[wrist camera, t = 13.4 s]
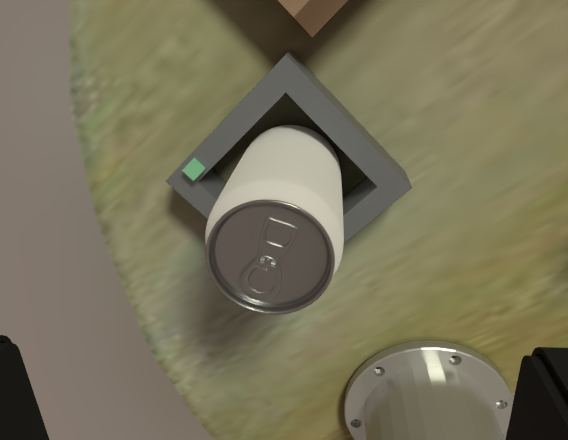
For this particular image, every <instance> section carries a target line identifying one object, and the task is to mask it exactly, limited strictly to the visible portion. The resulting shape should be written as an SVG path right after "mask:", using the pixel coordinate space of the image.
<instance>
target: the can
mask: <svg viewBox="0 0 568 440" xmlns="http://www.w3.org/2000/svg"><path fill="white" fill-rule="evenodd" d="M205 244H206V264H207V268H208V271H209V274H210V276H211V278H212V280H213V282H214V283H215V285H216V286H217V288H218V289H219V290H220V291H221V292H222V293H223V294H224V295H225V296H226V297H227V298H228V299H229V300H231V301H232V302H234V303H235V304H237V305H239V306H240V307H242V308H245V309H247V310H250V311H253V312H256V313H261V314H269V315H279V314H287V313H292V312H295V311H298V310H300V309H303V308H305V307H307V306H308V305H310V304H312V303H313V302H314V301H316V300H317V299H318V298H319V297H320V296H321V295H322V294H323V292H324V291H325V290H326V288H327V287H328V285H329V283H330V281H331V279H332V277H333V276H334V274H335V272H336V271H337V269H338V266H339V264H340V261H341V258H342V253H343V245H344V226H343V202H342V182H341V169H340V163H339V160H338V157H337V155H336V152H335V151H334V149H333V147H332V146H331V145H330V143H329V142H328V141H327V140H326V139H325V138H324V137H323V136H321V135H320V134H319V133H317V132H315V131H313V130H311V129H309V128H306V127H303V126H298V125H281V126H277V127H273V128H271V129H268V130H266V131H265V132H263V133H261V134H260V135H259V136H258V137H256V138H255V139H254V140H253V141H252V143H251V144H250V145H249V147H248V148H247V150H246V151H245V153H244V154H243V156H242V158H241V159H240V161H239V163H238V165H237V166H236V168H235V170H234V171H233V173H232V175H231V177H230V178H229V180H228V182H227V183H226V185H225V187H224V189H223V190H222V192H221V194H220V196H219V198H218V199H217V201H216V203H215V205H214V207H213V209H212V211H211V213H210V216H209V218H208V222H207V226H206V231H205Z"/></svg>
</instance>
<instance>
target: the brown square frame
mask: <svg viewBox="0 0 568 440" xmlns="http://www.w3.org/2000/svg"><path fill="white" fill-rule="evenodd" d="M278 1H279V2H280V3H281V4H282V5H283V6H284V8H285V9H286V10H287V11H288V12H289V13H290V14H291V15H292V16H293V17H294V18H295V19H296V21H297V22H298V23H299V24H300V25H301V26H302V27H303V28H304V29H305V30H306V31H307V32H308V34H309V35H310V36H311V37H313V36H314V35H315V34H316V33H317V32H318V31H319V30H320V29H321V28H322V27H323V26H324V25H325V24H326V23H327V22H328V21H329V20H330V19H331V18H332V17H333V16H334V14H335V13H336V12H337V11H338V10H339V9H340V8H341V7H342V6H343V5H344V4H345V3H346V2H347V1H348V0H278Z"/></svg>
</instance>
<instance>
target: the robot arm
mask: <svg viewBox="0 0 568 440" xmlns="http://www.w3.org/2000/svg"><path fill="white" fill-rule="evenodd" d="M344 416H345V421H346V425H347V428H348V430H349V432H350V434H351V436H352V438H353V439H354V440H505V438H504V434H505V433H506V431H507V436H506V440H568V348H548V347H538V348H535V349H534V351H533V353H532V356H524V357H523V359H522V362H521V367H520V372H519V377H518V382H517V386H516V391H515V396H514V401H513V404H512V399H511V394H510V391H509V389H508V387H507V384H506V382H505V380H504V378H503V377H502V375H501V373H500V372H499V370H498V369H497V368H496V367H495V366H494V365H493V364H492V363H491V362H490V361H489V360H488V359H487V358H485V357H483V356H482V355H480V354H479V353H477V352H476V351H474V350H471V349H469V348H466V347H464V346H462V345H458V344H454V343H449V342H445V341H431V340H425V341H413V342H408V343H404V344H399V345H395V346H393V347H390V348H388V349H386V350H383V351H381V352H379V353H378V354H376V355H374V356H373V357H371V358H370V359H368V360H367V361H366V362H365V363H364V364H363V365H362V366H361V367H359V368H358V370H357V371H356V372H355V374H354V375H353V377H352V378H351V379H350V382H349V384H348V387H347V389H346V393H345V399H344ZM0 440H49V437H48V434H47V431H46V429H45V425H44V422H43V419H42V416H41V413H40V410H39V407H38V404H37V401H36V398H35V396H34V393H33V390H32V387H31V384H30V381H29V378H28V375H27V372H26V369H25V366H24V363H23V360H22V357H21V354H20V351H19V349H18V347H17V346H16V345H15V344H13V343H12V342H11V340H10V339H9V338H8V337H7V336H3V335H0Z"/></svg>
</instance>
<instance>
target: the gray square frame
mask: <svg viewBox="0 0 568 440" xmlns="http://www.w3.org/2000/svg"><path fill="white" fill-rule="evenodd" d="M285 93H287V94H288V95H289V96H290V97H291V98H292V99H293V100H294V101H295V102H296V104H297V105H298V106H299V107H300V108H301V109H302V110H303V111H304V112H305V113H306V114H307V115H308V116H309V117H310V118H311V119H312V120H313V121H314V122H315V123H316V124H317V125H318V126H319V127H320V128H321V129H322V130H323V131H324V132H325V133H326V134H327V135H328V136H329V137H330V138H331V139H332V141H333V142H334V143H335V144H336V145H337V146H338V147H339V148H340V149H341V150H342V151H343V152H344V153H345V154H346V155H347V156H348V157H349V158H350V159H351V160H352V161H353V162H354V163H355V164H356V165H357V166H358V167H359V168H360V169H361V170H362V171H363V172H364V173H365V174H366V175H367V177H366V178H365V179H364V180H363V181H361V182H360V183H359V184H358V185H357V186H356V187H354V188H353V189H352V190H351V191H350V192H349V193H347V194H346V195H345V196H344V197H343V198H342V202H343V226H344V243H345V242H346V241H348V240H349V239H350V238H351V237H352V236H354V235H355V234H356V233H357V232H359V231H360V230H361V229H362V228H363V227H365V226H366V225H367V224H368V223H370V222H371V221H372V220H373V219H374V218H376V217H377V216H378V215H379V214H381V213H382V212H383V211H384V210H385V209H387V208H388V207H389V206H390V205H392V204H393V203H394V202H395V201H396V200H398V199H399V198H400V197H401V196H403V195H404V194H405V193H406V192H407V191H409V190H410V189H411V188H412V186H411V184H410V182H409V179H408V177H407V175H406V172H405V171H404V170H403V169H402V168H401V167H400V165H399V164H398V163H397V162H396V161H395V160H394V159H393V158H392V157H391V156H390V155H389V154H388V153H387V152H386V151H385V150H384V149H383V147H382V146H381V145H380V144H379V143H378V142H377V141H376V140H375V139H374V138H373V137H372V136H371V135H370V134H369V133H368V132H367V131H366V129H365V128H364V127H363V126H362V125H361V124H360V123H359V122H358V121H357V120H356V119H355V118H354V117H353V116H352V115H351V114H350V113H349V111H348V110H347V109H346V108H345V107H344V106H343V105H342V104H341V103H340V102H339V101H338V100H337V99H336V98H335V97H334V96H333V95H332V93H331V92H330V91H329V90H328V89H327V88H326V87H325V86H324V85H323V84H322V83H321V82H320V81H319V80H318V79H317V78H316V77H315V75H314V74H313V73H312V72H311V71H310V70H309V69H308V68H307V67H306V66H305V65H304V64H303V63H302V62H301V61H300V60H299V59H298V57H297V56H296V55H295V54H294V53H293V52H292V51H291V50H289V51H288V52H287V53H286V54H285V56H284V57H283V58H282V59H281V60H280V61H279V62H278V63H277V64H276V65H275V66H274V67H273V68H272V69H271V70H270V71H269V72H268V74H267V75H266V76H265V77H264V78H263V79H262V80H261V81H260V82H259V83H258V84H257V85H256V86H255V87H254V88H253V89H252V90H251V92H250V93H249V94H248V95H247V96H246V97H245V98H244V99H243V100H242V101H241V102H240V103H239V104H238V105H237V106H236V107H235V108H234V110H233V111H232V112H231V113H230V114H229V115H228V116H227V117H226V118H225V119H224V120H223V121H222V122H221V123H220V124H219V125H218V126H217V128H216V129H215V130H214V131H213V132H212V133H211V134H210V135H209V136H208V137H207V138H206V139H205V140H204V141H203V142H202V143H201V144H200V146H199V147H198V148H197V149H196V150H195V151H194V152H193V153H192V154H191V155H190V156H189V157H188V158H187V159H186V160H185V161H184V162H183V163H182V165H181V166H180V167H179V168H178V169H177V170H176V171H175V172H174V173H173V174H172V175H171V176H170V177H169V178H168V179H167V181H166V182H167V183H168V184H169V185H170V186H171V187H172V188H173V189H175V190H176V191H177V192H178V193H179V194H180V195H181V196H182V197H183V198H185V199H186V200H187V201H188V202H189V203H190V204H191V205H192V206H194V207H195V208H196V209H197V210H198V211H199V212H200V213H201V214H202V215H204V216H205V217H206V218H207V219H208V218H209V216H210V213H211V211H212V209H213V207H214V205H215V203H216V201H217V199H218V198H219V196H220V194H221V192H222V190H223V189H224V187H225V185H226V182H225V181H223V180H222V179H221V178H220V177H219V176H218V175H217V174H216V173H215V172H214V171H213V170H212V169H211V168H212V167H213V166H214V165H215V164H216V163H217V162H218V161H219V160H220V159H221V158H222V157H223V156H224V155H225V154H226V153H227V152H228V151H229V150H230V149H231V148H232V147H233V146H234V145H235V144H236V143H237V142H238V141H239V140H240V139H241V138H242V136H243V135H244V134H245V133H246V132H247V131H248V130H249V129H250V128H251V127H252V126H253V125H254V124H255V123H256V122H257V121H258V120H259V119H260V118H261V117H262V116H263V115H264V114H265V113H266V112H267V111H268V110H269V109H270V108H271V107H272V106H273V105H274V104H275V103H276V102H277V101H278V100H279V99H280V98H281V97H282V96H283V95H284V94H285Z"/></svg>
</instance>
